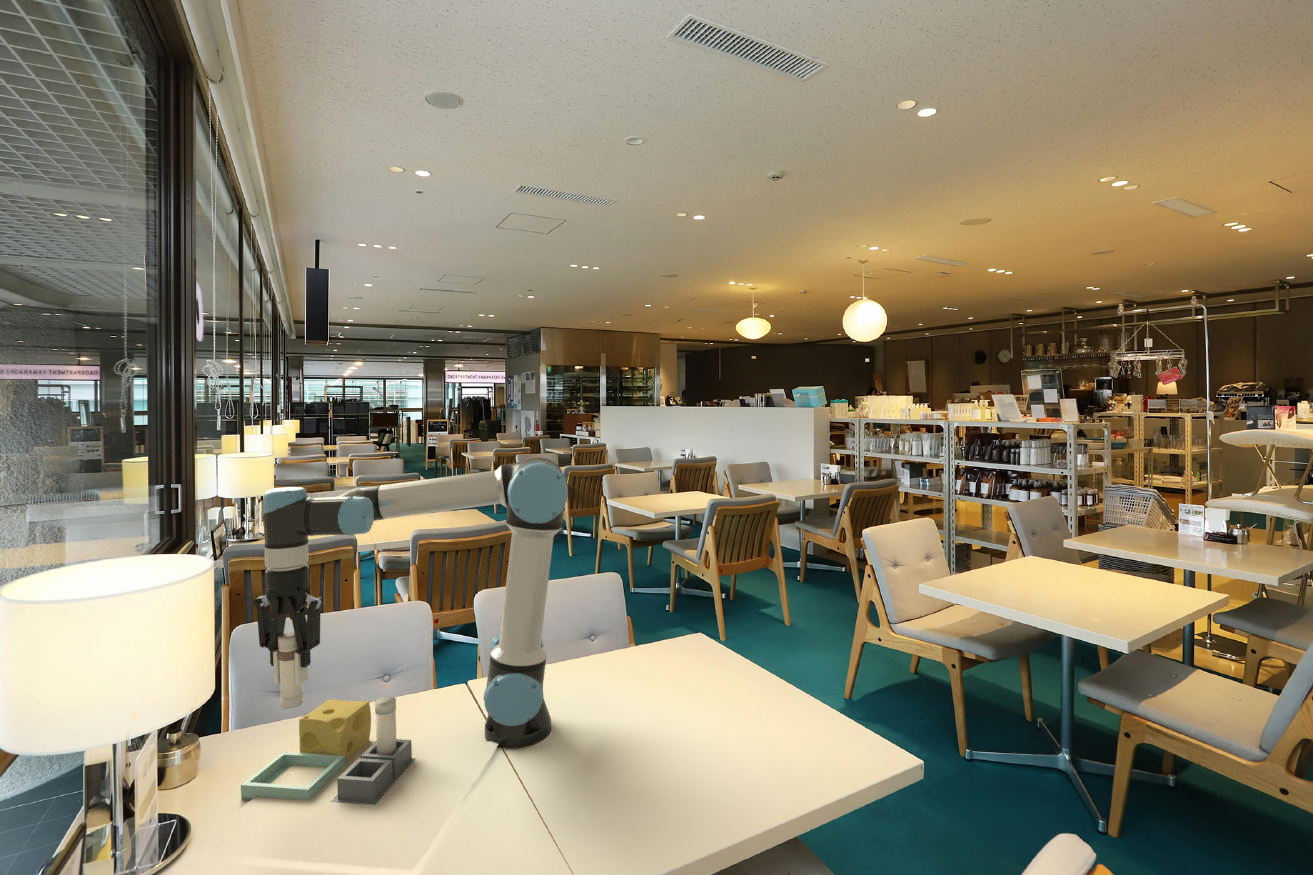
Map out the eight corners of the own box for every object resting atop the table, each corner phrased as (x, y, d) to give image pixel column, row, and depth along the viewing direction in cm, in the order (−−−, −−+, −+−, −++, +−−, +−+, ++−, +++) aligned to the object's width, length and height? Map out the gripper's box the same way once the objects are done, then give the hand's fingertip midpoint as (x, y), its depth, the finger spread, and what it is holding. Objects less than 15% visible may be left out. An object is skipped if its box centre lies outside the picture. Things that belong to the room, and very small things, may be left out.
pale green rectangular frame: (345, 769, 137) (345, 755, 137) (308, 804, 125) (308, 789, 125) (283, 765, 139) (282, 751, 138) (241, 799, 127) (240, 784, 127)
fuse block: (415, 762, 139) (414, 694, 139) (375, 809, 124) (373, 732, 123) (376, 760, 140) (374, 692, 140) (330, 806, 125) (328, 729, 124)
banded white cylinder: (307, 700, 133) (305, 632, 132) (294, 709, 129) (292, 639, 128) (289, 698, 133) (286, 631, 132) (275, 708, 129) (273, 638, 128)
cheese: (341, 769, 137) (340, 723, 137) (296, 763, 139) (295, 718, 139) (372, 743, 147) (371, 700, 147) (330, 738, 150) (329, 696, 149)
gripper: (338, 562, 132) (342, 675, 133) (261, 560, 134) (265, 671, 135) (315, 572, 125) (318, 692, 126) (233, 569, 126) (238, 687, 128)
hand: (291, 681), depth 131 cm, fingers closed on banded white cylinder, 4 cm apart
